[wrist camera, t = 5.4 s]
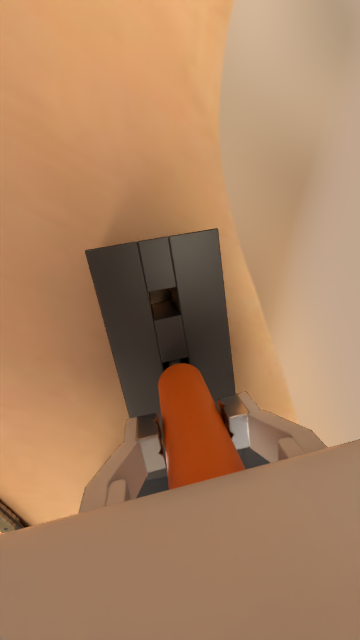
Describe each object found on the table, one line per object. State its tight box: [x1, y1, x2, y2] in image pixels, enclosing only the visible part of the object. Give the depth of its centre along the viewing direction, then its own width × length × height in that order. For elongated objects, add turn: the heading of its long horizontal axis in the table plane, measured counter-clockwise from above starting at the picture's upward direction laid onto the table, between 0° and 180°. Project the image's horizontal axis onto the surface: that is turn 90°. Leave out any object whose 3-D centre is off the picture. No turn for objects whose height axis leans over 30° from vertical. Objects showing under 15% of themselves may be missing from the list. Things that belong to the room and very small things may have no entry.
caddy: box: [85, 228, 242, 481], centre depth 19 cm, size 8×17×5 cm, turn 9°
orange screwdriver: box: [158, 359, 246, 490], centre depth 14 cm, size 3×3×15 cm
